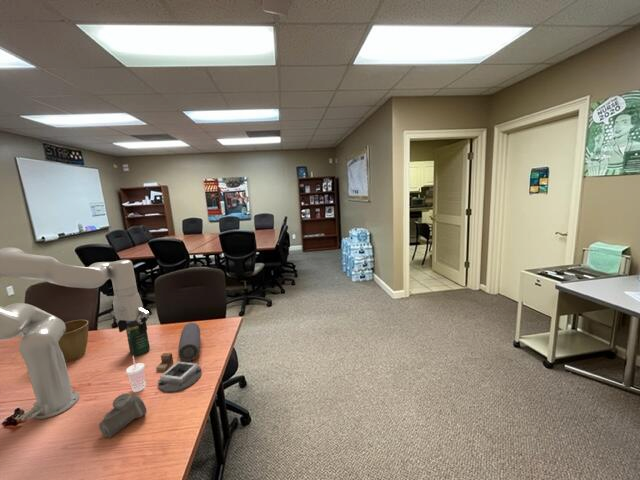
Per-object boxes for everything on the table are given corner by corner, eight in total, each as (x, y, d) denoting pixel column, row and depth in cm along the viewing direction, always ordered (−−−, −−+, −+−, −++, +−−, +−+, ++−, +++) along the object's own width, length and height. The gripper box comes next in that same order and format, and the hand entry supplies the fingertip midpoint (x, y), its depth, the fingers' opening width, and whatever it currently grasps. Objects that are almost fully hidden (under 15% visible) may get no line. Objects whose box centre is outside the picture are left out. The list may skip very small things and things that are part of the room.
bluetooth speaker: (201, 360, 128) (198, 340, 126) (178, 366, 124) (175, 345, 123) (202, 337, 149) (199, 319, 147) (183, 341, 145) (180, 323, 143)
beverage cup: (151, 385, 113) (145, 354, 110) (135, 395, 107) (128, 362, 105) (143, 380, 116) (137, 350, 113) (127, 390, 110) (120, 358, 108)
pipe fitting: (137, 406, 101) (130, 384, 98) (150, 416, 97) (142, 393, 94) (99, 434, 91) (90, 411, 88) (111, 446, 87) (102, 422, 84)
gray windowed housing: (183, 394, 106) (181, 385, 105) (149, 389, 110) (147, 380, 110) (209, 368, 121) (208, 360, 121) (178, 364, 125) (177, 356, 125)
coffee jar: (152, 350, 138) (146, 315, 135) (134, 358, 132) (127, 322, 129) (145, 344, 144) (139, 310, 141) (128, 351, 139) (121, 316, 135)
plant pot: (46, 364, 131) (38, 332, 128) (81, 346, 145) (74, 318, 142) (68, 368, 127) (60, 336, 124) (101, 350, 141) (95, 321, 138)
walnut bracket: (165, 371, 121) (163, 361, 120) (156, 371, 121) (154, 361, 121) (173, 363, 127) (171, 353, 126) (165, 363, 127) (163, 353, 126)
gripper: (99, 294, 108) (107, 334, 111) (136, 295, 104) (144, 337, 108) (116, 287, 115) (123, 325, 118) (152, 288, 112) (158, 327, 115)
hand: (133, 331), depth 113 cm, fingers open, 9 cm apart
